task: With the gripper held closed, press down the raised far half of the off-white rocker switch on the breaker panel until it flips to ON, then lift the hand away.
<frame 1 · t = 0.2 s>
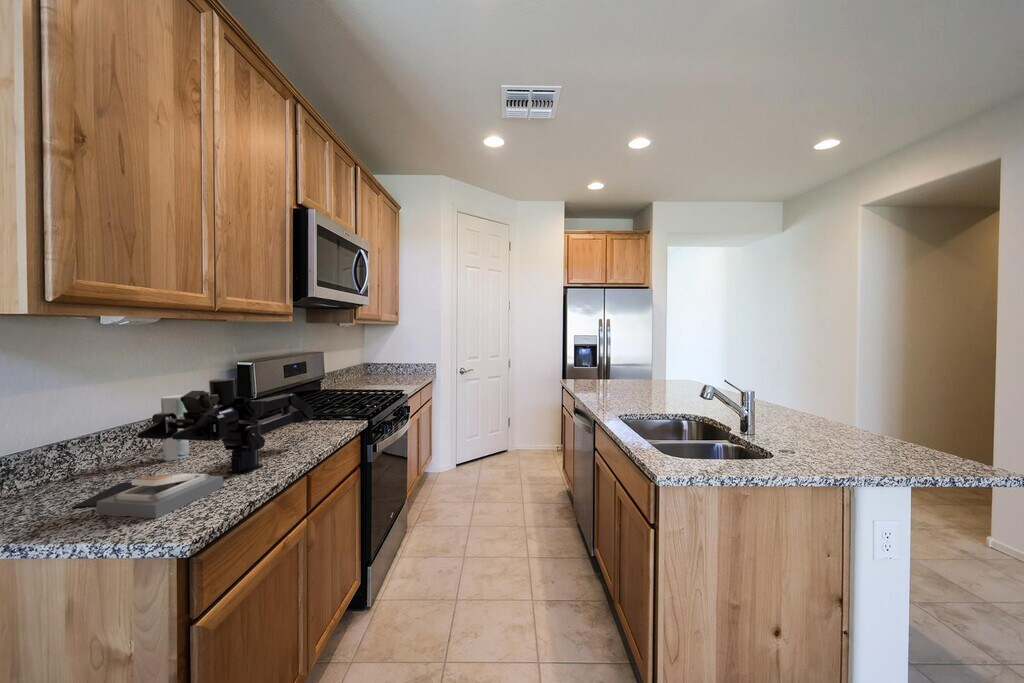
hand: (155, 436, 90), 17 cm above the countertop, tool horizontal, fingers open, 9 cm apart
spray can: (176, 458, 127), on the countertop
smartphone: (113, 496, 98), on the countertop
rocker switch: (164, 478, 95), point 5 cm above the countertop, hinge at -12.0°
breaker panel: (165, 500, 95), on the countertop
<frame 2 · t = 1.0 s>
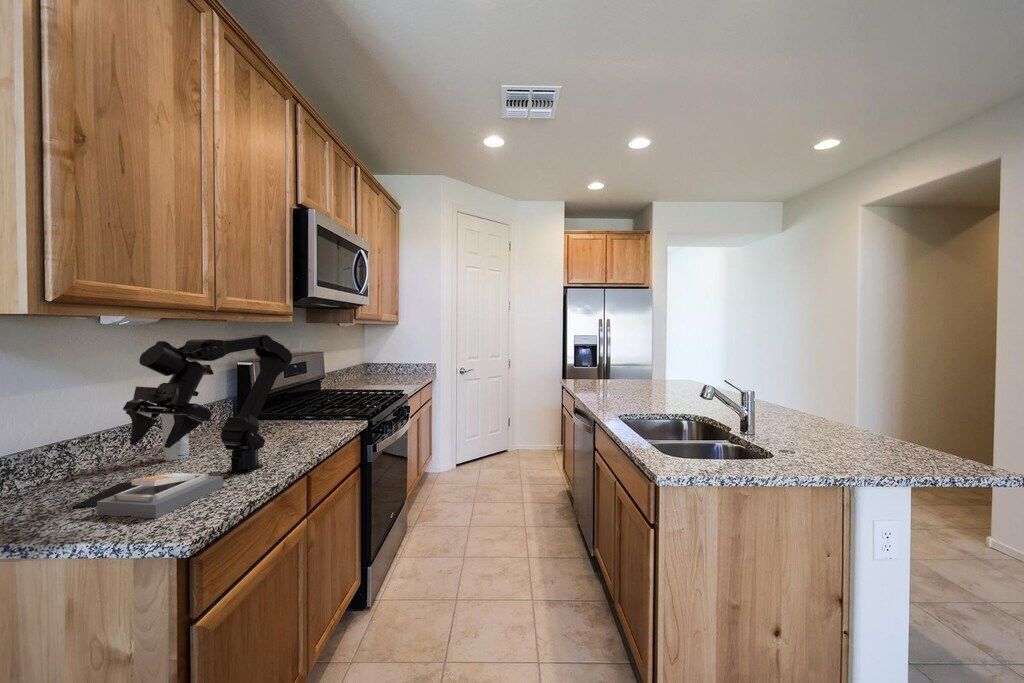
hand: (149, 446, 90), 14 cm above the countertop, tool tilted 30°, fingers open, 9 cm apart
nothing on the countertop moved.
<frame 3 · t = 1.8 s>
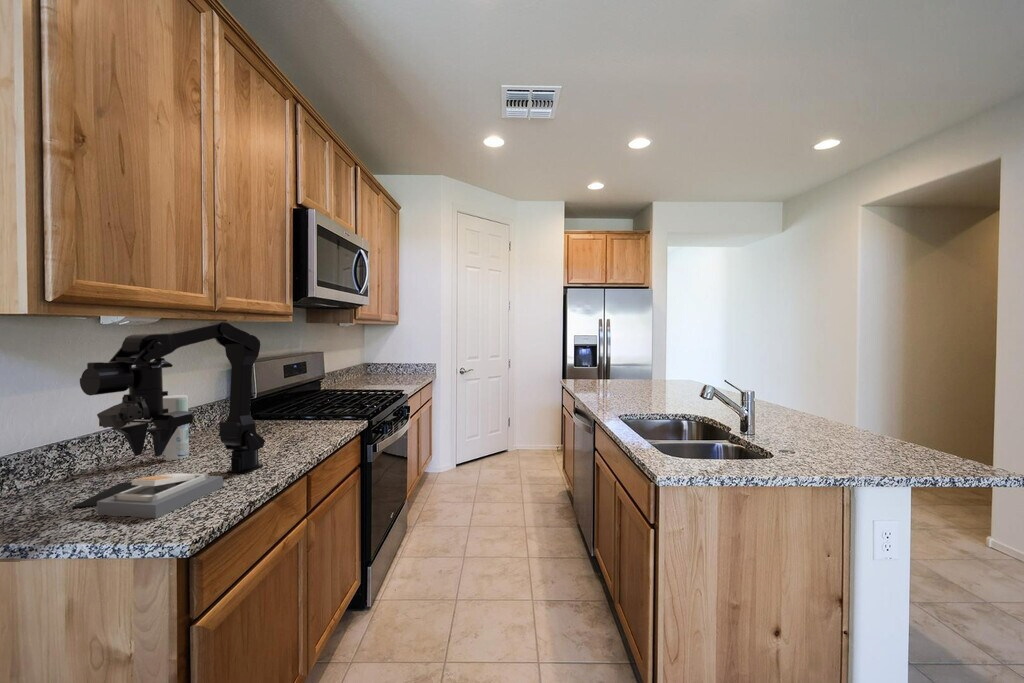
hand: (148, 455, 91), 12 cm above the countertop, tool pointing down, fingers open, 5 cm apart
nothing on the countertop moved.
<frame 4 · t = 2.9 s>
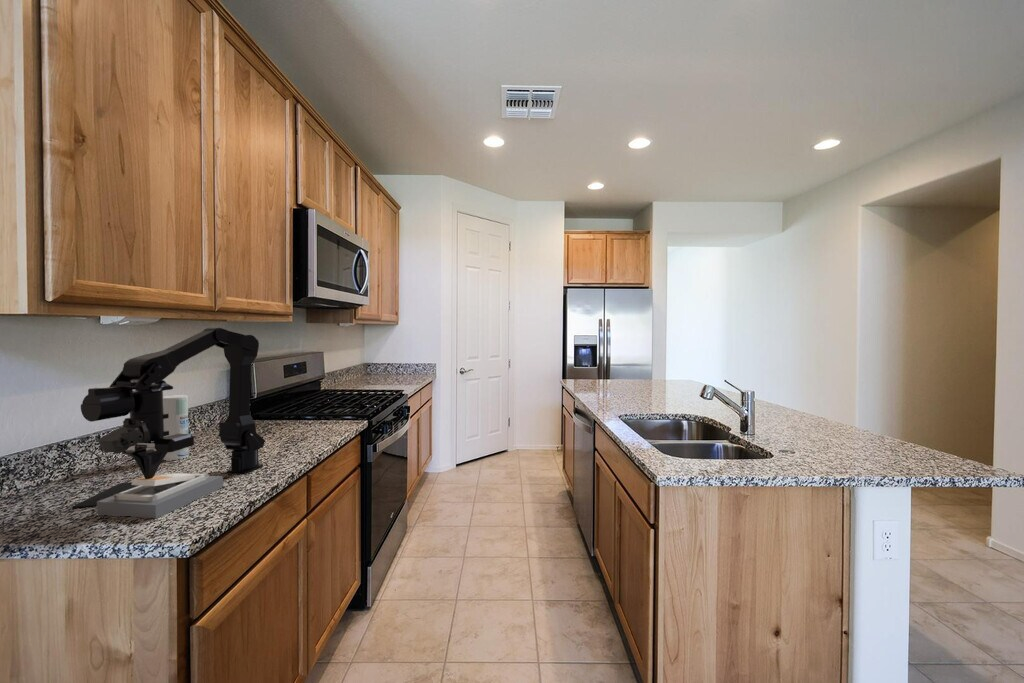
hand: (149, 478, 91), 7 cm above the countertop, tool pointing down, fingers closed, pressing on rocker switch
rocker switch: (164, 478, 95), point 5 cm above the countertop, hinge at -12.0°, touching gripper
everything else where it was.
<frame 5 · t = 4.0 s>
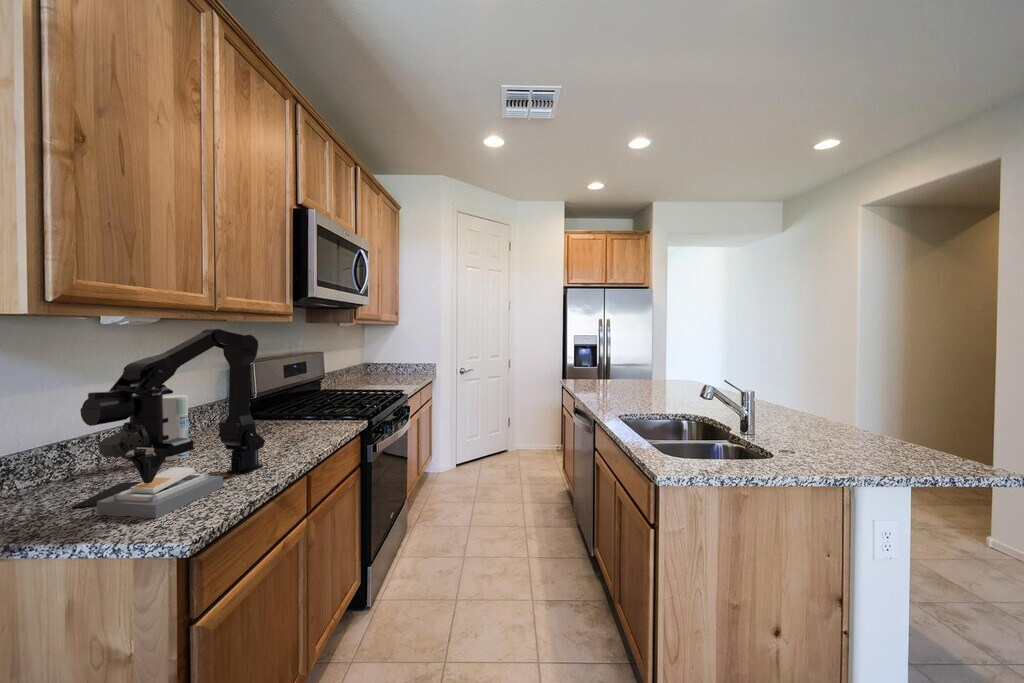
hand: (148, 482, 91), 6 cm above the countertop, tool pointing down, fingers closed
rocker switch: (164, 479, 95), point 5 cm above the countertop, hinge at 7.7°
everything else where it was.
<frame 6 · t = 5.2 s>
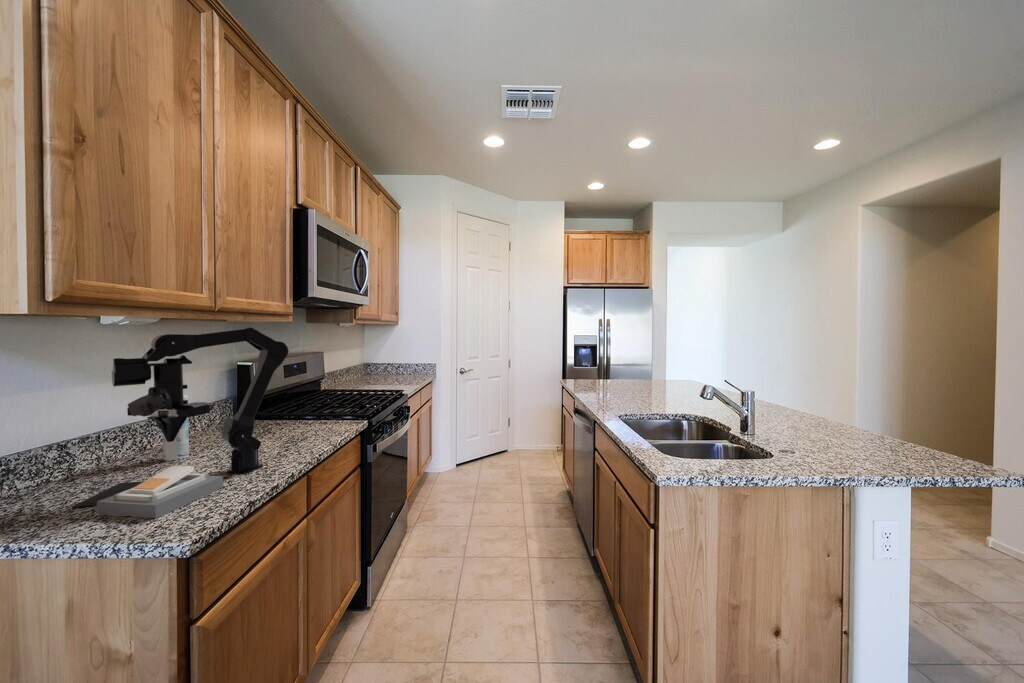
hand: (170, 441, 103), 12 cm above the countertop, tool pointing down, fingers closed
rocker switch: (163, 479, 95), point 5 cm above the countertop, hinge at 12.9°
everything else where it was.
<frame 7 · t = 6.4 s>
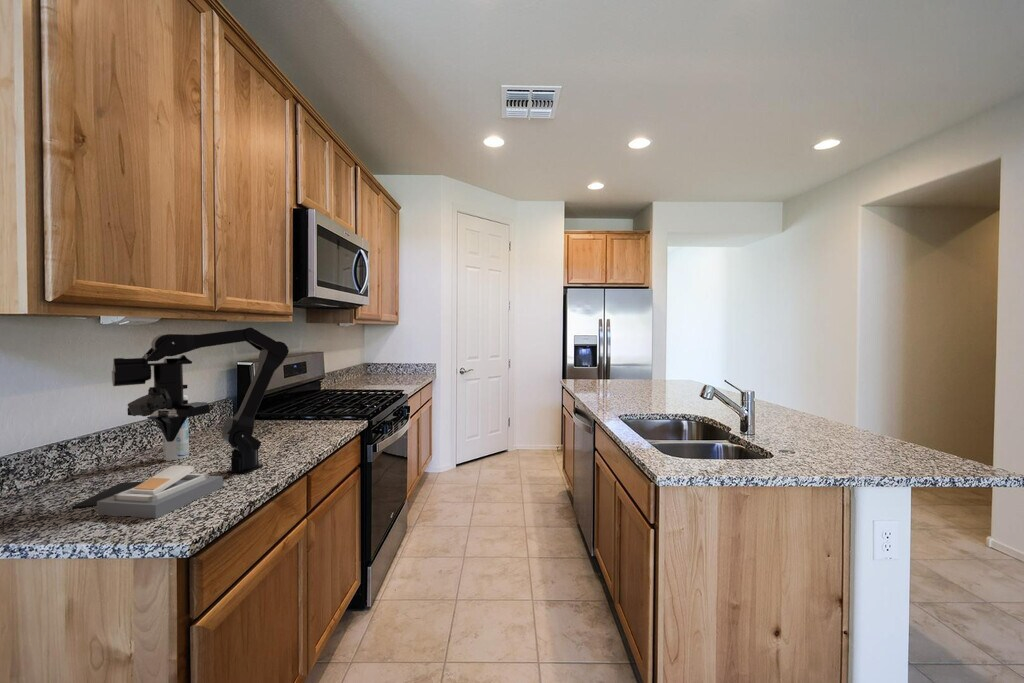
hand: (170, 441, 103), 12 cm above the countertop, tool pointing down, fingers closed
rocker switch: (163, 479, 95), point 5 cm above the countertop, hinge at 13.7°
everything else where it was.
at the end: rocker switch at +14° (first picture: -12°); smartphone moved 0.6 cm from its start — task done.
